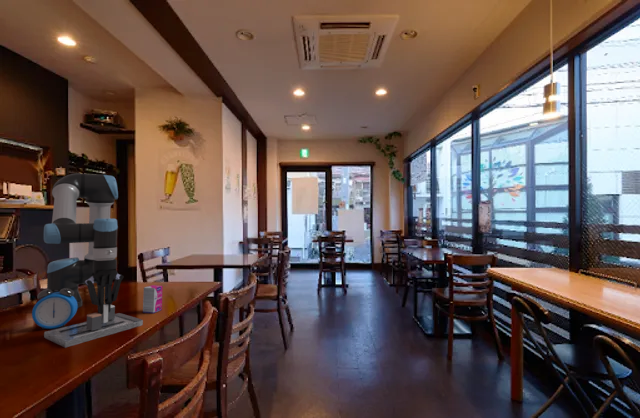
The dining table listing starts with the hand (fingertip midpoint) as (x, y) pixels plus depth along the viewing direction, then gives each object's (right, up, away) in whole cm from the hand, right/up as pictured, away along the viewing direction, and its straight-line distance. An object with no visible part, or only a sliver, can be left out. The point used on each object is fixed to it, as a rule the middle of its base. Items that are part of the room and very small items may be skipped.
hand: (104, 321), depth 121 cm
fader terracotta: (-2, -1, -3) cm, 4 cm away
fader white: (-4, -2, +9) cm, 10 cm away
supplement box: (+4, -5, +27) cm, 27 cm away
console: (-4, -4, +1) cm, 6 cm away
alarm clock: (-23, -4, +6) cm, 24 cm away
